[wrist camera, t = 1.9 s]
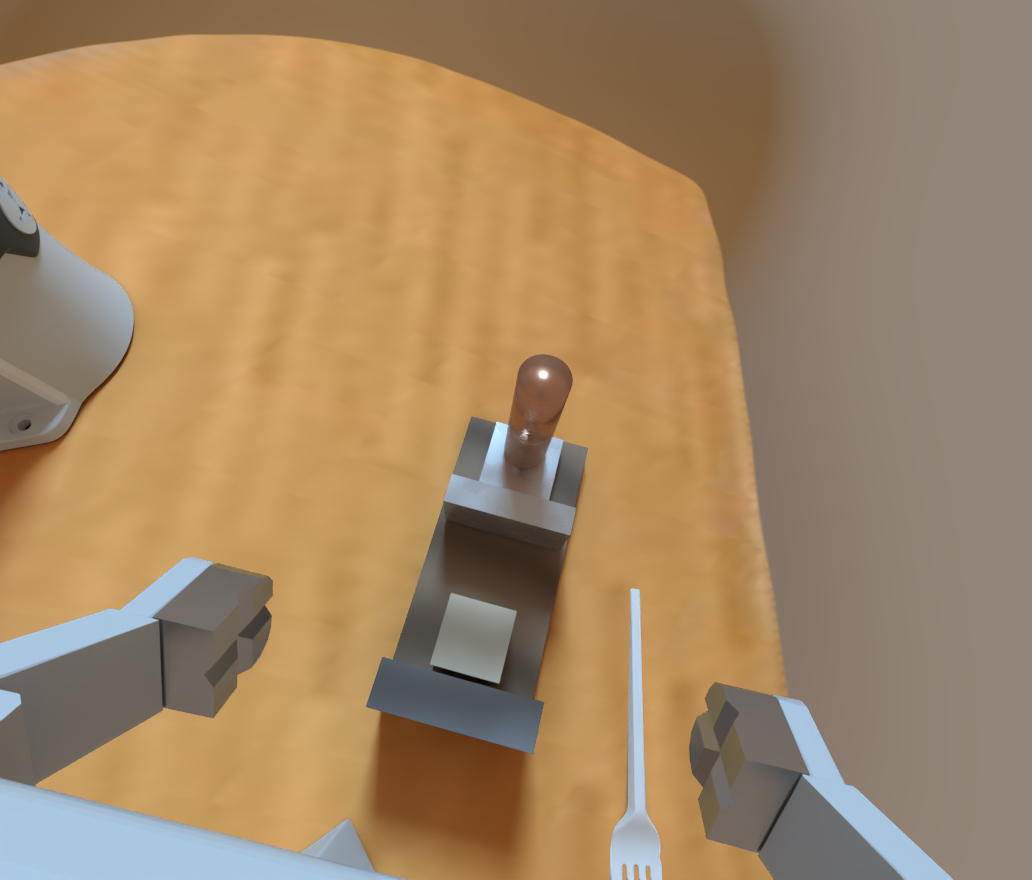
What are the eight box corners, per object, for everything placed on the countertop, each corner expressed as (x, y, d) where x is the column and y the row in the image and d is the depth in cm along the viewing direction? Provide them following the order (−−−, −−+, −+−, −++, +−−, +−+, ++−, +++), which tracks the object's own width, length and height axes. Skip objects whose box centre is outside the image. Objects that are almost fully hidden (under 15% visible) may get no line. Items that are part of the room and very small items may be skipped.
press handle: (558, 551, 38) (594, 503, 28) (445, 520, 38) (439, 461, 28) (580, 450, 41) (621, 374, 31) (476, 422, 41) (481, 336, 31)
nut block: (495, 683, 34) (499, 683, 31) (433, 665, 34) (429, 664, 31) (511, 618, 36) (516, 611, 32) (451, 601, 36) (451, 592, 32)
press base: (520, 741, 35) (533, 754, 29) (382, 702, 35) (365, 706, 29) (583, 455, 43) (603, 419, 37) (471, 424, 43) (473, 383, 37)
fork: (653, 591, 40) (662, 586, 38) (662, 950, 31) (674, 965, 30) (609, 586, 40) (616, 582, 38) (606, 946, 31) (615, 961, 30)
